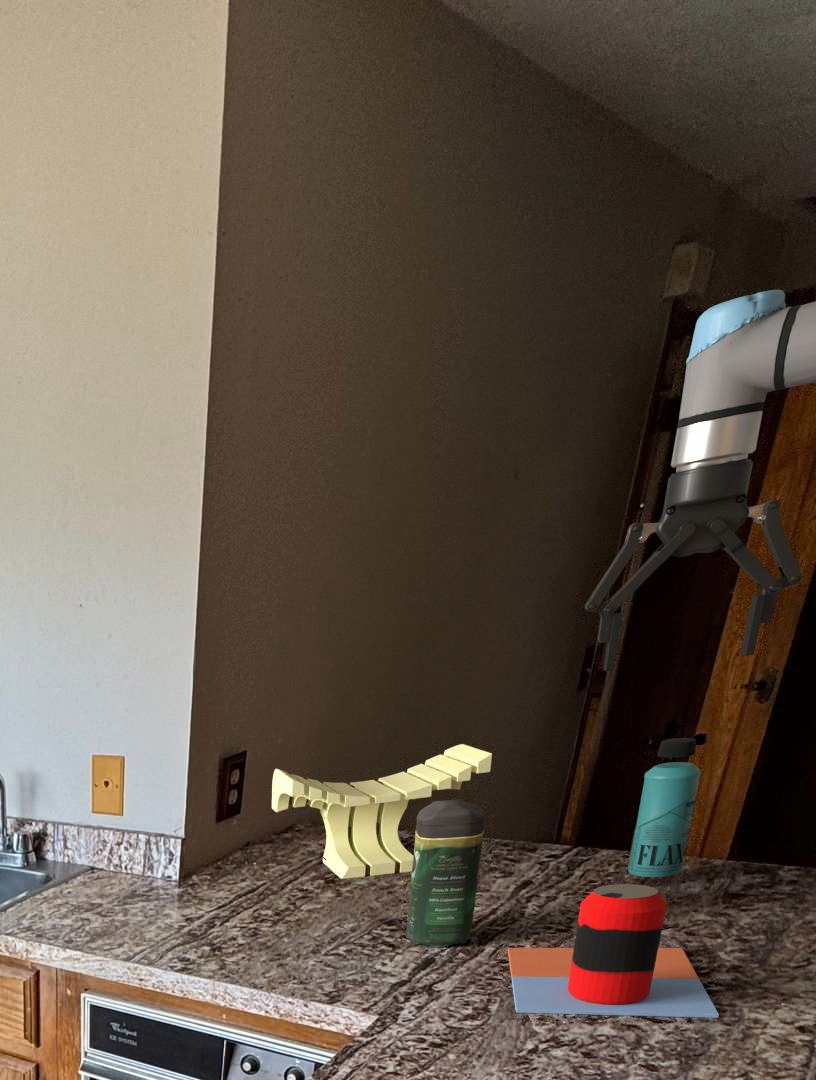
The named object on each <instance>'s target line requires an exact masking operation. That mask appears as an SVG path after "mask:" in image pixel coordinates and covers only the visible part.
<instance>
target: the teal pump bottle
mask: <svg viewBox="0 0 816 1080" xmlns="http://www.w3.org/2000/svg"><path fill="white" fill-rule="evenodd" d="M696 748H697V739H696V738H692V737H679V738H678V737H676V738H668V739H664V740H662V741H661V742H660V744H659V748H658V751H657V753H656V755H657V757H659V758H665V759H666V758H668V759H669V758H671V759H673V758H685V757H691V756H694V755H696V751H697V749H696ZM701 774H702V770H701V769H700V768H699V767H698V766H696V765H695V763H692V762H686V761H674V762H673V761H671V762H664V763H663V762H662V763H659V764H656V765H654V766H653V767H651V768H650V769H649V770H648V771H646V772H645V773H644V776H643V778H644V781H643V785H642V791H641V796H640V802H639V809H638V813H637V820H636V825H635V829H634V832H633V837H632V841H631V846H630V850H629V851H630V853H629V856H628V860H627V866H626V868H627V870H628V873H629V874H630V875H633V876H636V877H645V878H661V877H662V878H663V877H670V876H675V875H677V874H679V873H680V872H681V870H682V868H683V866H684V865H685V861H684V860H685V858H686V857H685V856H686V854H687V849H688V840H689V838H690V837H689V836H690V834H691V828H690V826H691V824H692V818H693V816H694V814H695V809H696V803H697V795H698V785H699V781H700V776H701Z"/></svg>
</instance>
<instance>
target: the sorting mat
mask: <svg viewBox="0 0 816 1080" xmlns="http://www.w3.org/2000/svg"><path fill="white" fill-rule="evenodd" d="M573 950H574V947H508V948H507V955H508V962H509V970H510V979H511V985H512V992H513V1001H514V1009H515V1013H517V1014H518V1013H519V1014H556V1015H590V1016H591V1015H593V1016H594V1015H596V1016H626V1017H627V1016H631V1017H632V1016H635V1017H666V1018H667V1017H669V1018H702V1019H703V1018H705V1019H706V1018H707V1019H708V1018H709V1019H711V1018H712V1019H718V1018H719V1016H720V1014H719V1012H718V1011H717V1008H716V1007H715V1005H714V1002H713V1001H712V999H711V997H710V996H709V994H708V992H707V990H706V989H705V986H704V985H703V983H702V981H701V980H700V978H699V975H698V974H697V973H696V970H695V969H694V967H693V965H692V963H691V961H690V960H689V958H688V956H687V954H686V952H685V950H684V949H683V947H658V952H657V957H656V962H655V967H654V973H653V978H652V983H651V988H650V993H649V995H648V996H647V997H646V998H644V999H643V1000H641V1001H639V1002H636V1003H632V1004H624V1005H603V1004H594V1003H589V1002H585V1001H581V1000H579V999H576V998H574V997H573V996H572V995H571V994H570V993H569V992H568V989H567V988H568V982H569V976H570V969H571V963H572V957H573Z"/></svg>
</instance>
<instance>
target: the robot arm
mask: <svg viewBox="0 0 816 1080" xmlns="http://www.w3.org/2000/svg"><path fill="white" fill-rule="evenodd" d="M785 299H786V294H785V291H783V290H782V289H771V290H765V291H760V292H756V293H753V294H748V295H743V296H739V297H737V298H733V299H730V300H726V301H723V302H720V303H718V304H715V305H713V306H711V307H709V308H707V309H706V310H705V311H704V312H703V313H701V315H700V316H699V317H698V319H697V320H696V323H695V328H694V331H693V336H692V341H691V344H690V350H689V354H688V357H687V358H686V361H685V365H686V368H685V374H684V383H683V387H682V396H681V402H680V409H679V417H678V422H677V429H676V434H675V439H674V440H675V441H674V445H673V452H672V456H671V458H672V459H671V462H670V467H672V469H673V468H676V469H675V472H674V473H671V475H670V477H668V480H667V485H666V490H665V491H666V492H665V498H664V504H663V509H662V514H661V517H660V519H659V520H658V521H657V522H648V523H642V522H633V523H632V524H630V525H629V526H628V528H627V532H626V534H625V535H626V536H625V540H624V543H623V545H622V547H621V549H620V550H619V551H618V553H617V554H616V556H615V558H614V559H613V561H612V562H611V564H610V566H609V567H608V569H607V570H606V572H605V574H604V575H602V577H601V580H600V581H599V583H598V584H597V586H596V587H595V589H594V590H593V592H592V593H591V594H590V596H589V598H588V599H587V601H586V602H585V605H584V609H585V610H586V611H587V612H590V613H591V612H592V613H594V614H598V615H599V616H600V619H599V625H598V633H597V640H598V643H599V644H604V643H606V649H605V656H604V662H603V667H602V668H603V670H604V672H613V671H614V668H615V662H616V654H617V649H618V643H619V642H618V641H619V635H620V628H621V622H622V615H623V614H622V613H621V612H616V611H617V610H618V609H619V608H620V607H621V606H622V605H623V604H624V603H625V602H626V601H627V600H628V599H629V598H630V597H631V596H632V595H633V594H634V593H635V592H636V590H638V589H639V588H640V587H641V586H642V585H643V583H645V581H646V580H648V578H649V577H650V576H652V574H653V573H654V572H655V571H656V570H657V569H658V568H660V566H661V565H662V564H664V563H665V562H666V561H667V560H668V559H669V558H670V557H671V556H673V557H677V558H682V557H689V556H692V555H694V554H710V553H714V552H715V551H718V550H719V549H720V548H721V549H722V550H723V551H724V552H726V553H727V554H728V556H729V557H730V558H732V560H733V561H735V563H736V564H737V565H738V566H739V568H741V569H742V570H743V571H744V573H745V574H746V575H747V576H748V577H749V578H750V579H751V581H752V582H754V584H756V586H757V587H758V588H759V590H761V593H755V594H752V596H751V600H750V605H749V609H748V614H747V621H746V625H745V630H744V635H743V640H742V645H741V650H740V655H743V656H745V657H746V656H747V657H748V656H754V655H755V650H756V647H757V641H758V637H759V631H760V627H761V624H768V623H769V624H770V622H771V621H772V619H773V617H774V613H775V608H776V603H777V599H778V595H779V593H780V592H781V591H782V590H783V589H786V588H788V587H791V586H792V585H796V584H798V583H800V581H802V579H803V575H802V572H801V570H800V566H799V564H798V562H797V560H796V557H795V554H794V552H793V549H792V547H791V545H790V543H789V540H788V537H787V535H786V533H785V530H784V528H783V524H782V523H781V520H780V518H781V505H782V503H781V501H780V500H779V499H769V500H767V501H765V502H764V503H760V504H756V505H752V506H748V504H747V495H748V491H749V485H750V480H751V474H752V470H753V465H754V462H753V461H752V459H750V458H749V455H750V454H753V453H754V452H755V451H756V450H757V446H758V445H757V444H758V438H759V433H760V429H761V428H760V427H761V422H762V418H763V417H762V416H763V411H764V407H765V400H766V397H767V394H768V393H771V392H774V391H782V390H786V389H789V388H794V387H799V386H804V385H808V384H813V383H816V301H812V302H808V303H806V304H799V305H795V306H794V305H791V306H787V303H786V300H785ZM748 518H751V519H752V521H753V523H754V524H755V525H760V527H761V528H760V529H761V531H762V533H763V535H764V539H765V541H766V543H767V546H768V548H769V550H770V553H771V555H772V557H773V560H774V562H775V565H776V567H777V570H778V573H779V575H780V576H779V577H777V578H775V577H774V575H772V573H771V572H770V571H769V570H768V569H767V568H766V566H764V564H762V562H761V561H760V560H759V559H758V558H757V557H756V556H755V554H754V553H752V551H751V550H749V549H748V547H747V546H746V545H745V544H744V542H743V540H742V539H741V538H740V537H739V536H738V535H737V534H736V533H735V532H736V531H737V530H738V529H739V528H740V527H741V526H742V525H743V524H744V522H746V521H747V519H748ZM653 533H655V535H656V537H657V538H658V540H659V541H660V542H661V545H660V546H659V547H658V548H657V549H656V550H655V551H654V552H653V553H652V554H651V555H650V557H649V558H648V559H647V560H646V561H645V562H644V563H643V564H642V565H641V566H640V567H639V568H638V569H637V571H636V572H634V574H633V575H631V576H630V577H629V579H628V580H626V582H625V583H624V584H623V585H622V586H621V587H620V588H619V589H618V590H617V591H616V592H615V593H614V594H613V595H612V596H611V597H610V598H609V599H608V600H607V601H606V602H605V601H604V599H605V598H606V596H607V595H608V593H609V592H610V590H611V589H612V587H613V586H614V584H615V582H616V581H617V579H618V578H619V576H620V575H621V573H622V572H623V570H624V569H625V567H626V566H627V564H628V562H629V561H630V560H631V558H632V557H633V555H634V554H635V552H636V550H637V549H638V546H639V544H643V543H645V542H646V541H647V540H648V538H649V536H650V535H652V534H653Z"/></svg>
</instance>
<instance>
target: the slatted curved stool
mask: <svg viewBox="0 0 816 1080" xmlns="http://www.w3.org/2000/svg"><path fill="white" fill-rule="evenodd" d="M492 758H493V753H491V752H488V751H486V750H482V749H479V748H476V747H473V746H470V745H467V744H464V743H461V744H457V745H455V746H452V747H449V748H447V749H445V750H444V752H443V754H438V755H435V756H433V757H430V758H429V759H426V760H425V762H424V764H423V763H419V764H417V765H413V766H412V767H409V768H407V771H406V772H405V771H401V772H398V773H394V774H391V775H386V776H383V777H380V778H378V779H377V780H375V779H369V780H362V781H355V782H354V781H353V782H350V783H349V784H348V783H347V782H328V781H323V782H321V781H319V780H317V779H312V778H306V779H305V778H304V777H302V776H300V775H297V774H293V773H291V774H290V773H288V772H287V771H285V770H282V769H279V768H275V769H274V771H273V775H272V781H271V783H272V784H271V787H272V788H271V809H272V810H273V811H274V812H275V813H279V812H282V811H284V810H288V809H289V806H291V807H292V808H301V807H306V805H308V806H309V807H311V808H315V809H317V810H319V811H320V815H321V817H322V821H323V824H324V828H325V833H326V834H325V835H326V838H325V839H326V841H325V848H324V852H323V856H322V862H323V864H324V865H325V866H326V867H328V868H329V870H331V872H333V873H334V874H335V875H336V876H337V877H339V879H341V880H345V879H353V878H362V877H363V878H364V877H366V876H367V875H369V876H370V877H372V876H381V875H383V876H384V875H390V874H395V872H396V873H397V872H399V873H401V874H402V873H409V872H411V873H412V866H413V856H414V854H412V853H411V852H410V851H409V850H408V849H407V848H405V846H404V845H403V844H402V842H401V840H400V838H399V833H398V832H399V831H398V830H399V825H400V823H401V822H400V821H401V819H402V817H403V815H404V813H405V811H406V810H407V808H408V804H409V802H410V800H416V799H422V798H430V797H432V793H433V791H441V790H459V791H460V790H461V788H462V787H461V786H462V783H463V782H469V781H471V778H472V777H471V776H472V773H475V774H483V773H490V772H491V768H492ZM323 857H324V858H325V859H326V860H325V859H324V858H323Z"/></svg>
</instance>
